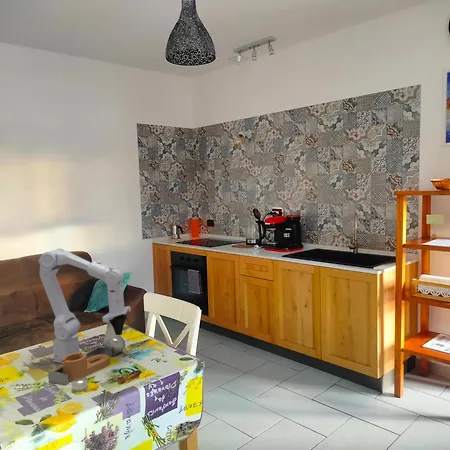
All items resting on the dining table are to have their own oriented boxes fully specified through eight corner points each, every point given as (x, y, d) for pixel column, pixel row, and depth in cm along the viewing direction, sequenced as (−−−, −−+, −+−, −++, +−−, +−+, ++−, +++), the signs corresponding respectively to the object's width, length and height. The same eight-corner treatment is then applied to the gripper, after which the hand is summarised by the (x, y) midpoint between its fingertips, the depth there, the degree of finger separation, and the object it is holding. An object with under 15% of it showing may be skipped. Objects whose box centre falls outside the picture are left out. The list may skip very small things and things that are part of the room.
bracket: (72, 383, 141) (70, 363, 141) (59, 377, 146) (57, 359, 146) (114, 363, 156) (113, 346, 155) (101, 359, 161) (99, 342, 160)
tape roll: (69, 391, 135) (68, 382, 135) (79, 384, 140) (79, 375, 139) (80, 393, 133) (79, 384, 133) (91, 386, 138) (90, 377, 137)
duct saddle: (48, 382, 143) (47, 363, 142) (106, 349, 170) (105, 334, 170) (70, 386, 139) (68, 367, 138) (125, 352, 166) (124, 336, 166)
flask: (103, 340, 181) (102, 318, 180) (120, 338, 182) (118, 316, 182) (102, 346, 174) (100, 323, 173) (119, 344, 175) (117, 321, 175)
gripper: (112, 306, 149) (115, 342, 150) (135, 296, 162) (138, 329, 163) (96, 305, 152) (99, 340, 153) (121, 295, 165) (124, 327, 166)
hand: (118, 334), depth 158 cm, fingers closed
